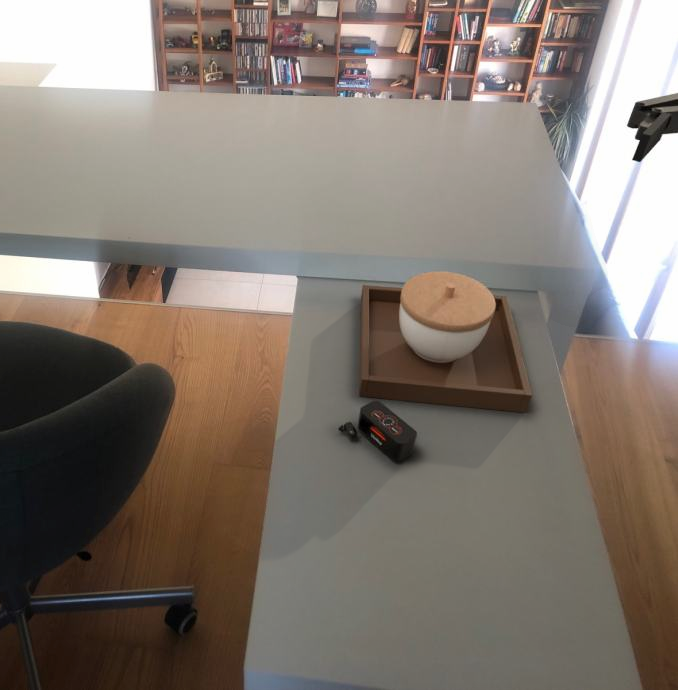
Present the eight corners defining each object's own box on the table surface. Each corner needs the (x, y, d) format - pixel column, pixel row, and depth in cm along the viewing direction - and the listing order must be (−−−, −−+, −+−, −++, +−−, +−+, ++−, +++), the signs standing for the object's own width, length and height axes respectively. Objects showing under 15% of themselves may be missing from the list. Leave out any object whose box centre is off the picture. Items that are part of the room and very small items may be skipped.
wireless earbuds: (367, 414, 79) (371, 394, 77) (414, 454, 74) (419, 433, 72) (337, 432, 77) (339, 412, 75) (383, 474, 72) (387, 453, 70)
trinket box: (478, 325, 89) (496, 264, 83) (483, 382, 81) (503, 319, 75) (394, 315, 91) (404, 255, 85) (390, 369, 83) (402, 307, 77)
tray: (501, 312, 92) (507, 295, 90) (525, 413, 78) (532, 395, 77) (360, 301, 95) (362, 284, 93) (358, 396, 81) (361, 379, 79)
